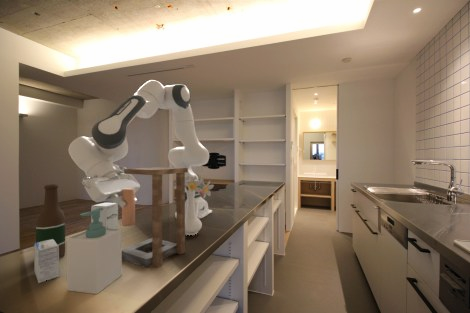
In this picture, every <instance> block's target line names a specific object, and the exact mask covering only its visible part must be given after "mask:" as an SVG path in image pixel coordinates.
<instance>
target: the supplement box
mask: <svg viewBox="0 0 470 313" xmlns="http://www.w3.org/2000/svg"><path fill="white" fill-rule="evenodd" d="M98 208H103V210H102V211H100V218H99V222H102V223H103V226H105V227H106V228H111V229H119V204H117V203H115V202H101V203H98V204H94V205H93V204H92V205H91V210H90V211H93V210H96V209H98ZM90 217H91V218H90V220H91V221H90V223H93V219H92V216H90Z"/></svg>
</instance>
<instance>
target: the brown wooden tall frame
mask: <svg viewBox="0 0 470 313" xmlns="http://www.w3.org/2000/svg"><path fill="white" fill-rule="evenodd" d="M185 172H188V168H174V167H163V166H161V167H159V166H157V167H139V168H138V167H136V168H127V169H124V174H131V175H142V176H143V175H144V176H151V177H152V178H151V181H152V184H151V187H152V188H151V192H152V194H151V196H152V201H151V204H152V206H151V210H152V211H151V212H152V213H151V216H152V217H151V219H152V220H151V222H152V224H151V225H152V226H151V227H152V228H151V229H152V232H151V233H152V235H151V236H152V237H151V238H148V239H145V240H143V241H141V242H139V243H138V242H137V243H136V244H133V245H131V246H127V247H125V248H123V249H122V261H123V260H124V261H127V262H130V263H132V264H135V265H138V266H140V267H143V268H146V269H149V268H150V267H154V268H157V269H158V268H159V267H161V266H163V261H164V260H165V259H167V258H169V257H171V256H173V255H174V254H178V255H182V254H183V255H184V253H186V235H185ZM172 174H174V175H175V174H176V175H175V178H176V180H175V182H176V189H175V191H176V192H175V195H176V198H175V202H176V204H175V206H176V207H175V208H176V209H175V210H176V211H175V213H176V217H175V219H176V222H175V223H176V225H175V227H176V228H175V229H176V232H175V233H176V234H175V235H176V238H175V240H176V241H175V242H176V243H175V242H171V241H168V240H163V175H172ZM150 250H152V251H150ZM147 251H150V252H149V253H147Z"/></svg>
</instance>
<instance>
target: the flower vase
mask: <svg viewBox="0 0 470 313" xmlns="http://www.w3.org/2000/svg"><path fill="white" fill-rule="evenodd" d="M189 179H190V180H189ZM204 180H205V179H204V177H202V176H201V177H200V179H198V181H197V177H196V176H194V178H193V177H190V176H187V177H186V178H185V187H186V188H187V189H186V193H187V213H186V216H185V236H187V235H189V237H190V235H192V236H195V234H196V235H198V234H199V231H200V230H201V229H202V227H203V223H202V221H201V219H200V218H199V219H198V218H197V216H196V213H195V204H194V197H195V191H196V192H200V190H203V194H202V196H203V197H202V198H203V199H206V197H207V196H208V197H211V195H212V193H211V190H212V189H213V188H214V186H215V185H214V184H211V180H208V182H207V183H205V181H204ZM173 184H174V186H173V187H172V190H176V181H174V182H173ZM188 187H189V188H188ZM197 233H198V234H197Z"/></svg>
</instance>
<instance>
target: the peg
mask: <svg viewBox="0 0 470 313" xmlns="http://www.w3.org/2000/svg"><path fill="white" fill-rule="evenodd" d="M135 198H136V193H135V189H132V188H131V189H122V196H121V199H122V200H126V202H127V203H128V204H127V205H126V206H125V207H121V226H122V227H129V226H134V225H135V224H136V203H135Z"/></svg>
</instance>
